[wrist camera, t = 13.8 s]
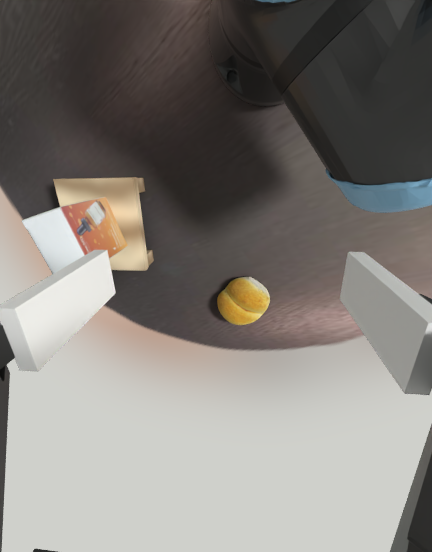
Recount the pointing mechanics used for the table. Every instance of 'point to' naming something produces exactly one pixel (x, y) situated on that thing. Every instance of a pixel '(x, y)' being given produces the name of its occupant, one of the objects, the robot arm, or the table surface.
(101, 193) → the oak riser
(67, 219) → the small box
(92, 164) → the table surface
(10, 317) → the robot arm
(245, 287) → the bread roll
